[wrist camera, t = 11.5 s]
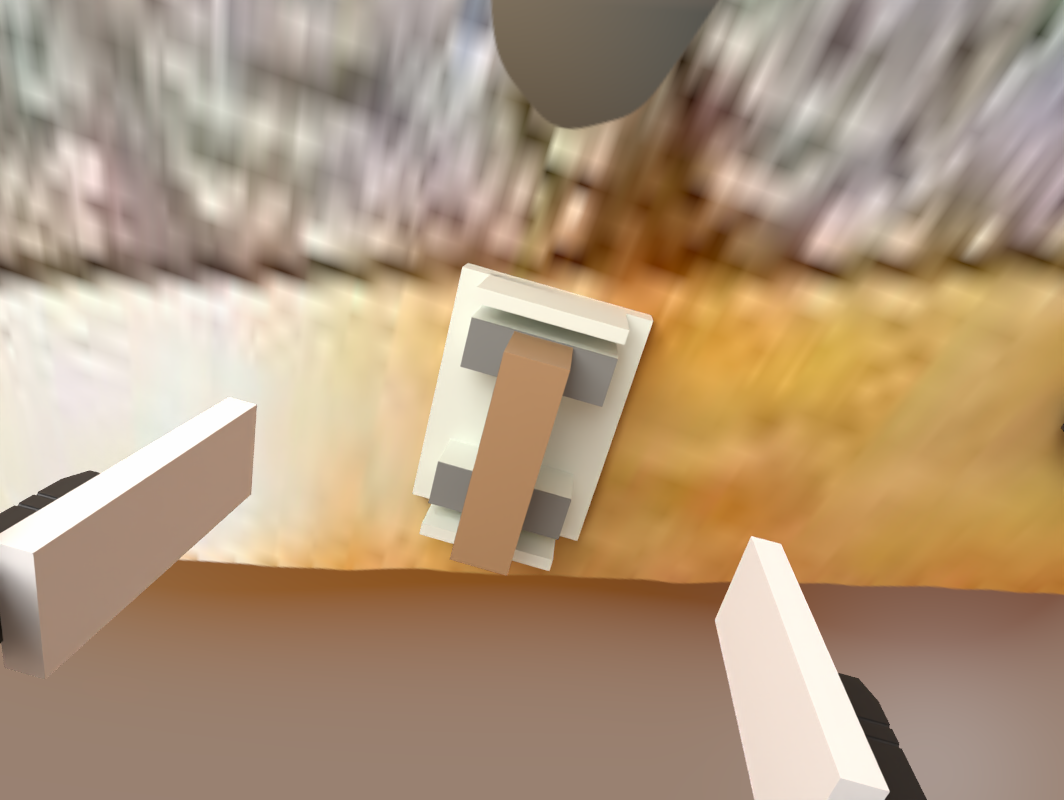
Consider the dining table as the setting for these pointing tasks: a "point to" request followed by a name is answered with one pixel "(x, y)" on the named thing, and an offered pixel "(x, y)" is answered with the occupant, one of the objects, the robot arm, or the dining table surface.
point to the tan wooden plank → (511, 451)
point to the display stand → (583, 415)
